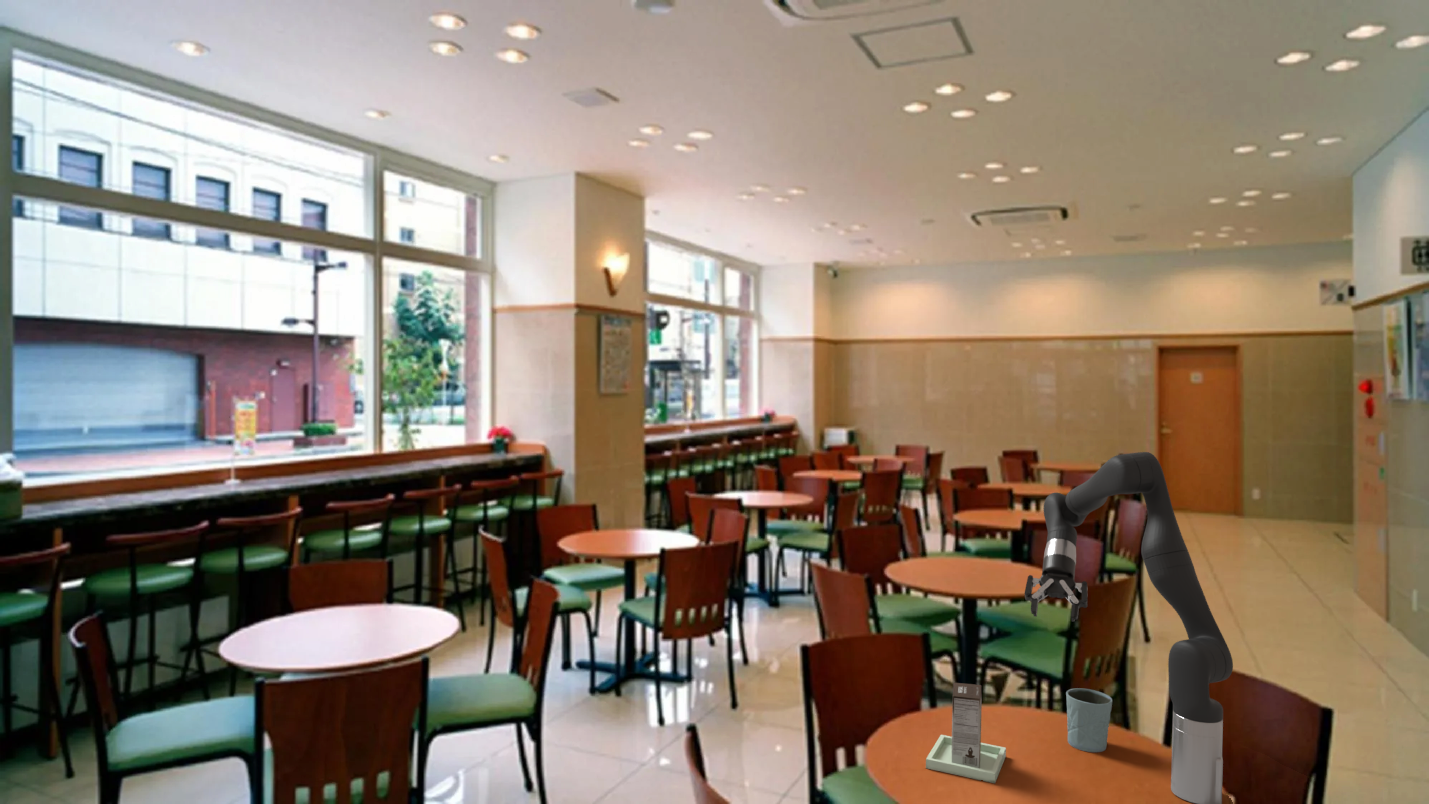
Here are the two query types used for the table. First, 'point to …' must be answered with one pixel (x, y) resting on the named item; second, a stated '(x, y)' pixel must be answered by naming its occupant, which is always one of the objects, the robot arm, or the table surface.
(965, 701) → the coffee box
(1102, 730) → the blue-grey cup
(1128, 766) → the table surface
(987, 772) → the tray
